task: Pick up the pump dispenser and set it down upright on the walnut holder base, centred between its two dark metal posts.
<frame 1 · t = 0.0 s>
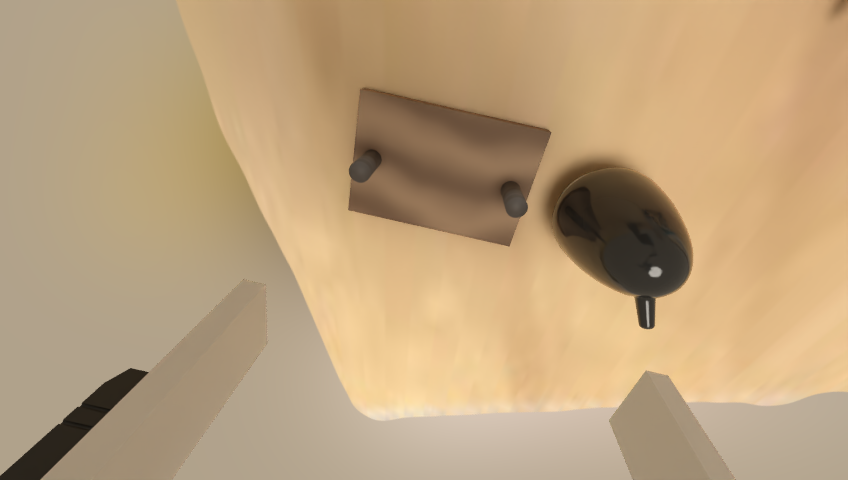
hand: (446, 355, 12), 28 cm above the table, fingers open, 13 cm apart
holder: (442, 170, 37), on the table
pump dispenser: (591, 203, 38), on the table
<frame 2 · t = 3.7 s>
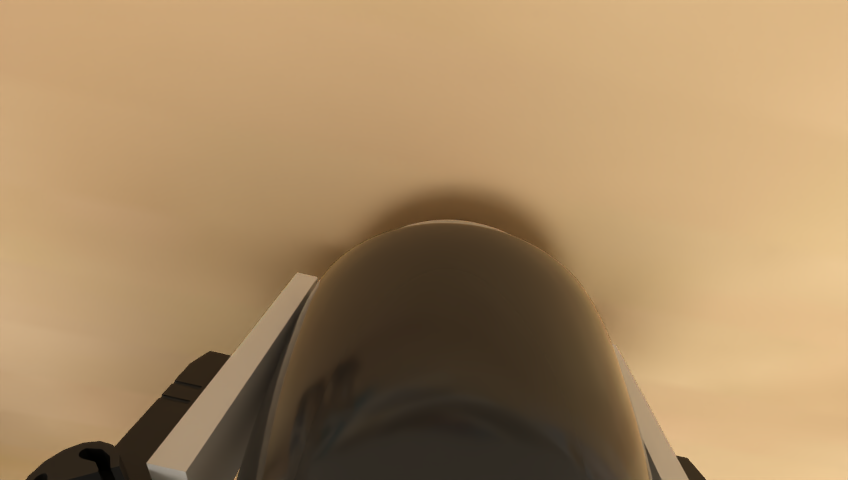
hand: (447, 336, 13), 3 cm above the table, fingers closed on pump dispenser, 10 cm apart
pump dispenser: (452, 289, 15), on the table, touching gripper
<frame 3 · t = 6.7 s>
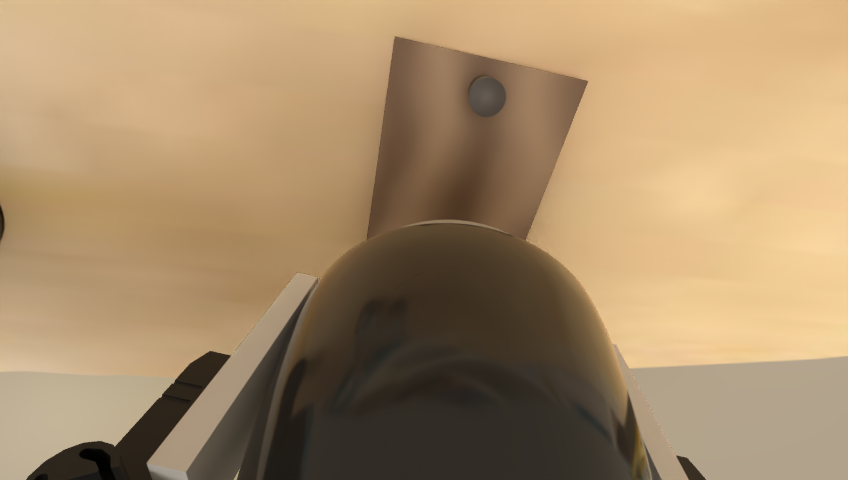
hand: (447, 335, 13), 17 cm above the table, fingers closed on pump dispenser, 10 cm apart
holder: (456, 186, 28), on the table
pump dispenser: (452, 289, 15), point 14 cm above the table, touching gripper
when the fingers open (6 cm above the table, at t = 9.7 s): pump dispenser drops 1 cm, resting on holder.
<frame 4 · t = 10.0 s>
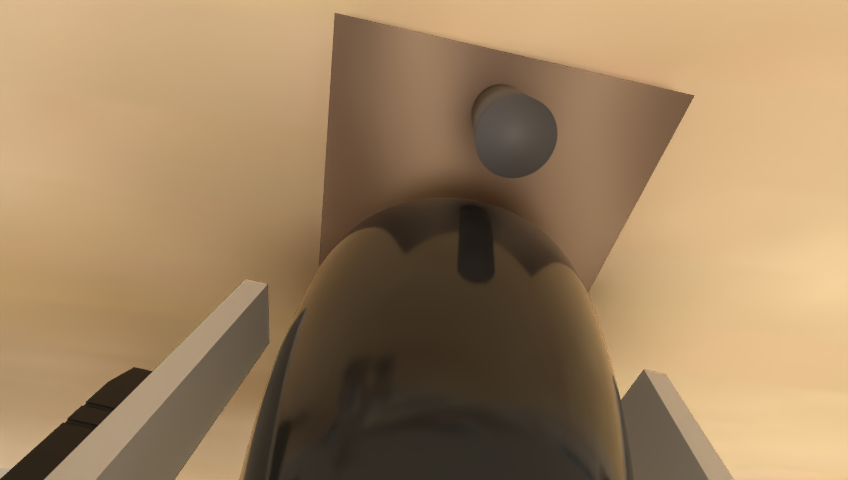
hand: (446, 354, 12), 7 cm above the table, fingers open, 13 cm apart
holder: (452, 257, 18), on the table
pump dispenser: (451, 273, 16), point 1 cm above the table, touching holder
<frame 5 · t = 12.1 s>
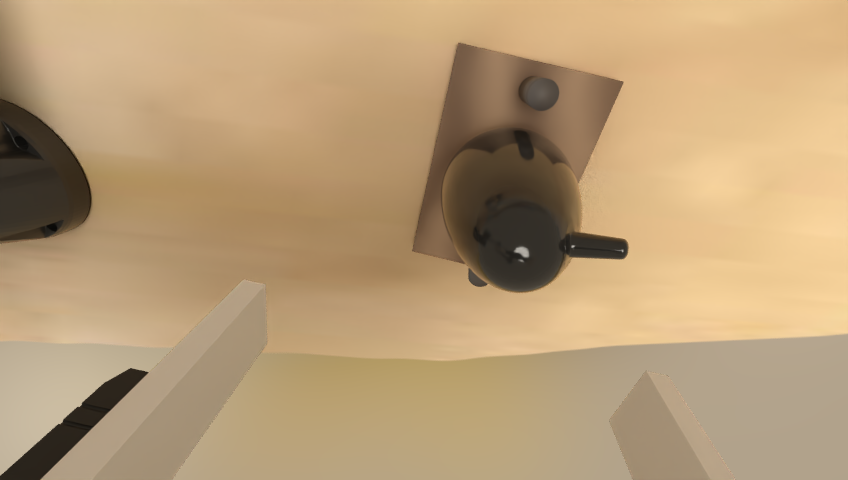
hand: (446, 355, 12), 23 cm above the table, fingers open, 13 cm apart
holder: (500, 174, 32), on the table
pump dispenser: (502, 178, 31), point 1 cm above the table, touching holder
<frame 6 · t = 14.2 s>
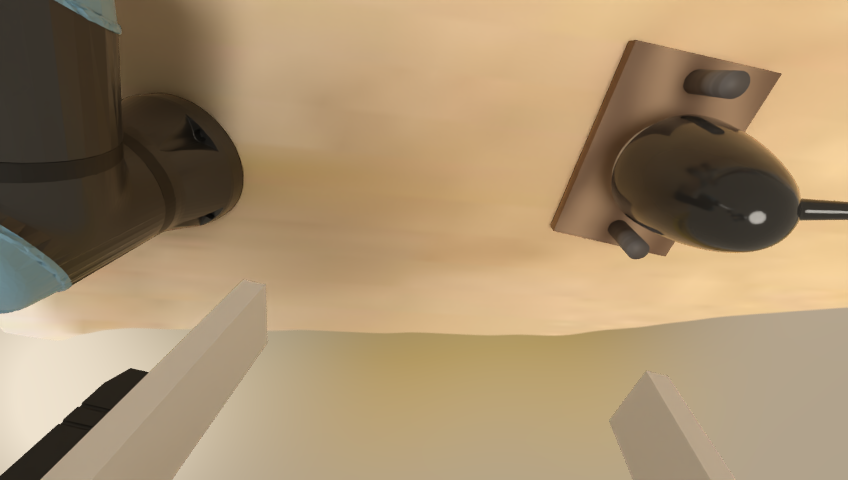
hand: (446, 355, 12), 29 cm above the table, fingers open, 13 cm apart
holder: (645, 158, 35), on the table
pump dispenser: (651, 162, 34), point 1 cm above the table, touching holder
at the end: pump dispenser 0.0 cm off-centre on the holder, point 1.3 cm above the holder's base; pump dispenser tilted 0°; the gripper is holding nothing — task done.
